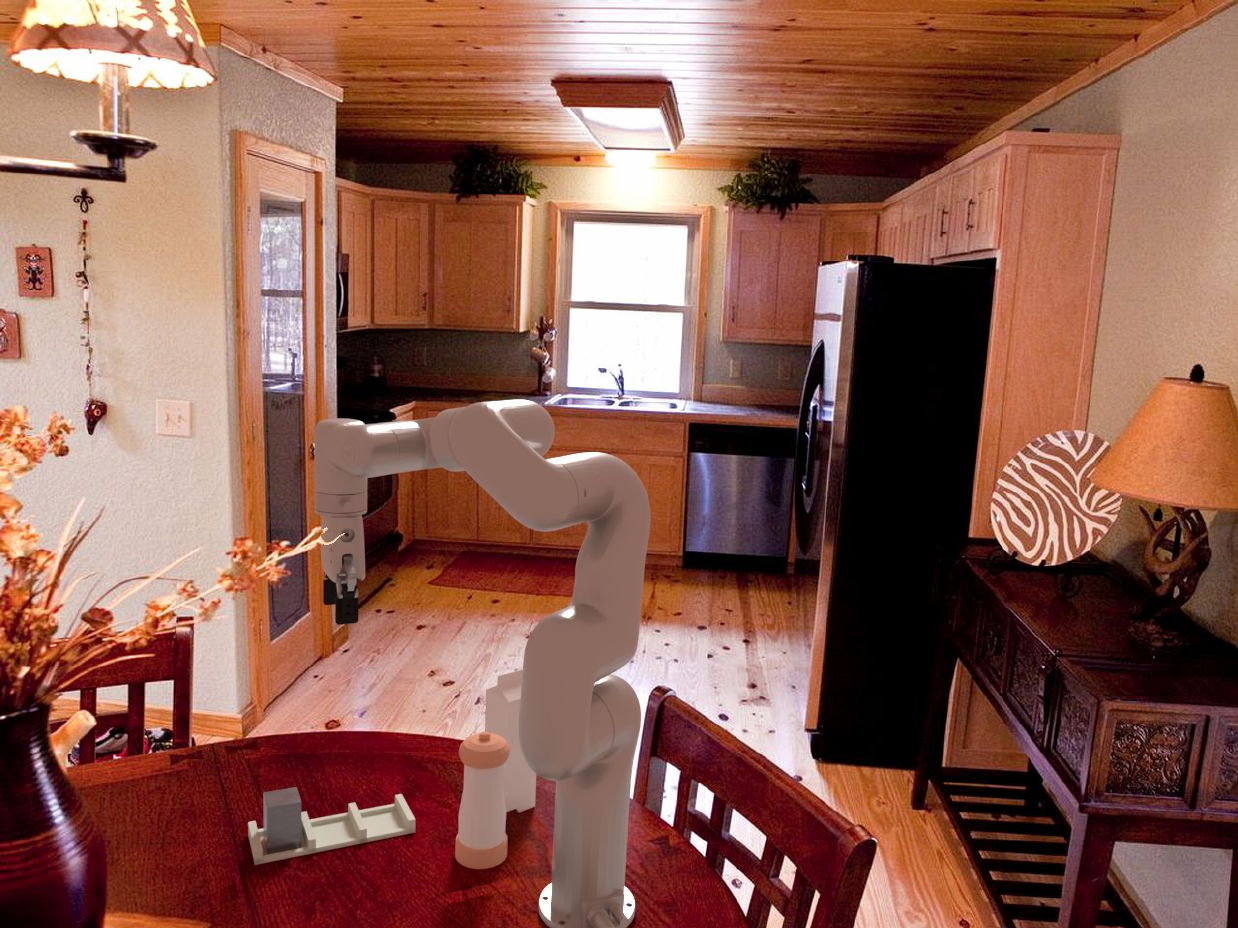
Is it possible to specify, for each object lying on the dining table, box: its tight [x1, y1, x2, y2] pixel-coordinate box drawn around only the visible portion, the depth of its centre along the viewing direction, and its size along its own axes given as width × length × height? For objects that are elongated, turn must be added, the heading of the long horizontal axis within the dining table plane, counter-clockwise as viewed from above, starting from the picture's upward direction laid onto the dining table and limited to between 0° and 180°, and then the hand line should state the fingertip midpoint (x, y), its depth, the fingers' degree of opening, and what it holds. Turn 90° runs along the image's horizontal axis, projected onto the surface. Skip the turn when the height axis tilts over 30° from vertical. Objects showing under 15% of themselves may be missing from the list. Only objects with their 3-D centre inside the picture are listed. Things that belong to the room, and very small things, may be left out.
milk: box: [484, 668, 537, 813], centre depth 148 cm, size 6×6×22 cm
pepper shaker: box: [454, 730, 510, 870], centre depth 133 cm, size 7×7×19 cm
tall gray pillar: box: [262, 786, 302, 855], centre depth 134 cm, size 4×4×7 cm
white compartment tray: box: [247, 793, 416, 866], centre depth 138 cm, size 8×22×3 cm, turn 117°
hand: (340, 613), depth 144 cm, fingers open, 9 cm apart
